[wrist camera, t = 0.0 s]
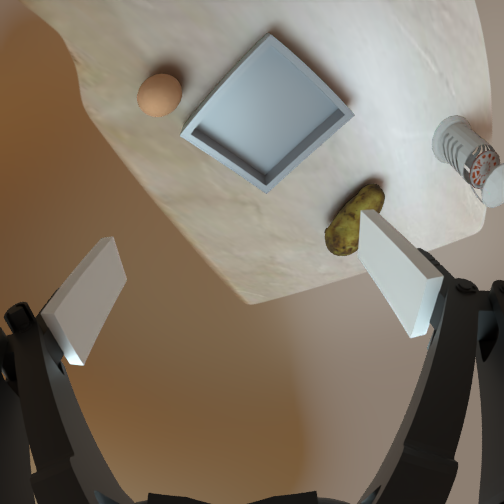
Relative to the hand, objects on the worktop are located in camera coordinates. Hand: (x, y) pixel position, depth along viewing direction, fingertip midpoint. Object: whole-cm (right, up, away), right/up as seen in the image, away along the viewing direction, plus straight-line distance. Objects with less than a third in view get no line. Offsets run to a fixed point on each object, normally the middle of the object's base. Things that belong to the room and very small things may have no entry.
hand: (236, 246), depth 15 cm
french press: (+36, +19, +25) cm, 47 cm away
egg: (-10, +21, +18) cm, 29 cm away
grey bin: (+3, +18, +21) cm, 28 cm away
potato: (+18, +8, +34) cm, 39 cm away
